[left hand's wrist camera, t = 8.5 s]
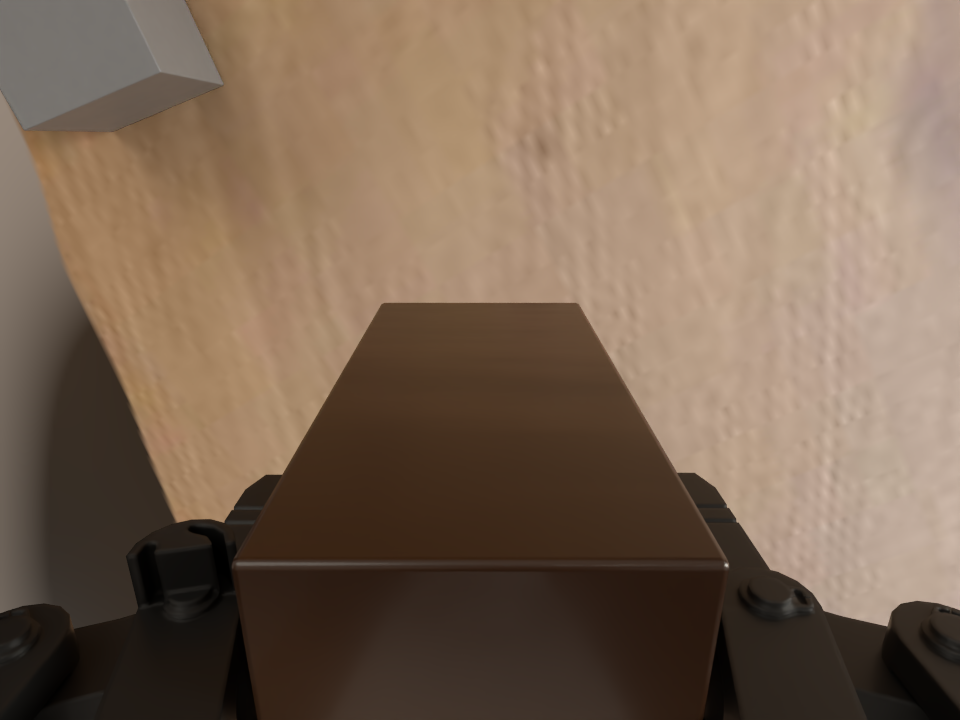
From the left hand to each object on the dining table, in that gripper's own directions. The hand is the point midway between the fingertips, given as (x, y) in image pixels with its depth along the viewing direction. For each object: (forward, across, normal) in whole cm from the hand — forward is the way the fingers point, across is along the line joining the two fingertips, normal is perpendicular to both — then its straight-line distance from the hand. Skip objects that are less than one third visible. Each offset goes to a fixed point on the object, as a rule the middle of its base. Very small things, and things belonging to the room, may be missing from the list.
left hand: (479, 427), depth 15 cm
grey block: (+13, -13, +10) cm, 21 cm away
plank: (0, 0, -10) cm, 10 cm away
